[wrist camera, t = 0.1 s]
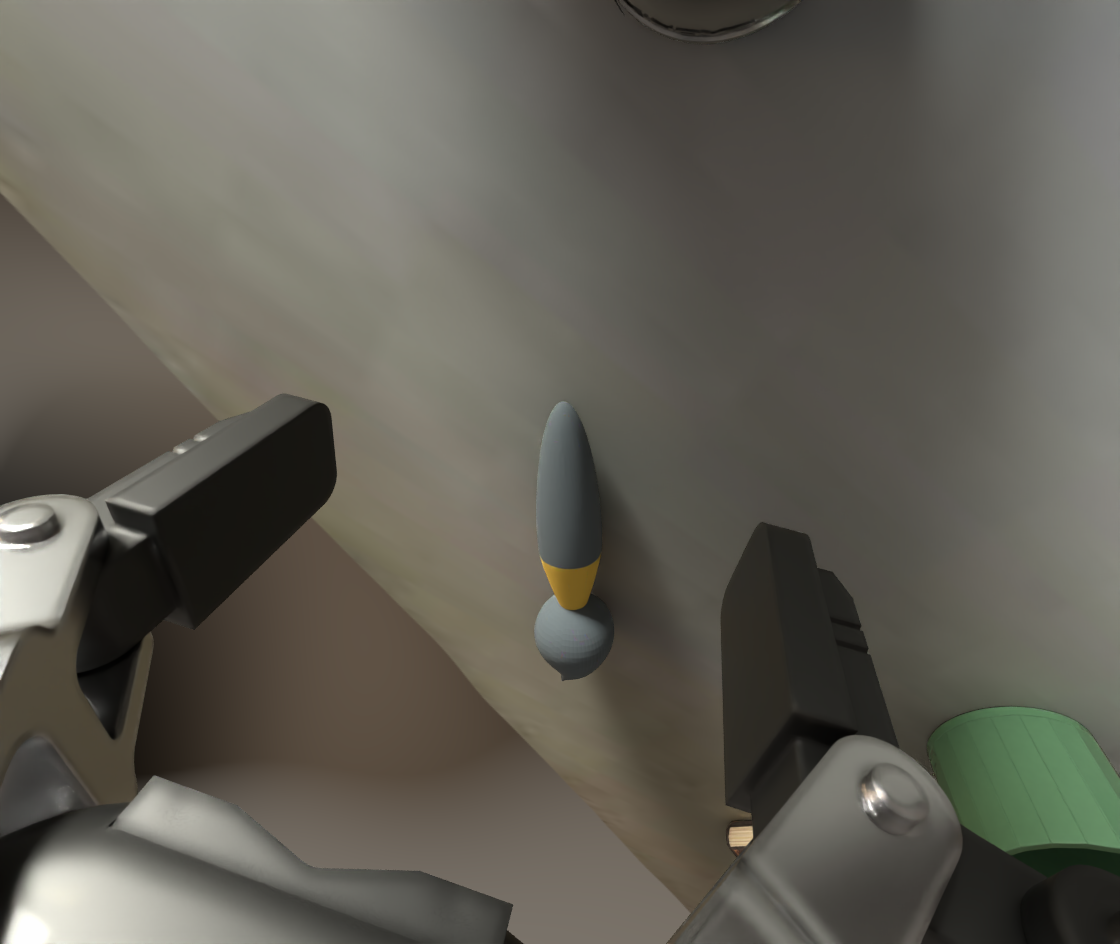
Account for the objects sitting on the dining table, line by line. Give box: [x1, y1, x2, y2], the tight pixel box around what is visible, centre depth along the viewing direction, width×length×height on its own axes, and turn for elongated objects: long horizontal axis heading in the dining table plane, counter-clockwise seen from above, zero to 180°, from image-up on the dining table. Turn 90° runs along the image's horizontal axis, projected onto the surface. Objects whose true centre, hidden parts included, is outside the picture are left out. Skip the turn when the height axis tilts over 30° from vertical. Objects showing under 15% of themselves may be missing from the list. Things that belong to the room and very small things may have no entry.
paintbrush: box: [534, 402, 614, 681], centre depth 31 cm, size 20×5×5 cm, turn 9°
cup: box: [927, 707, 1120, 878], centre depth 31 cm, size 9×9×8 cm
